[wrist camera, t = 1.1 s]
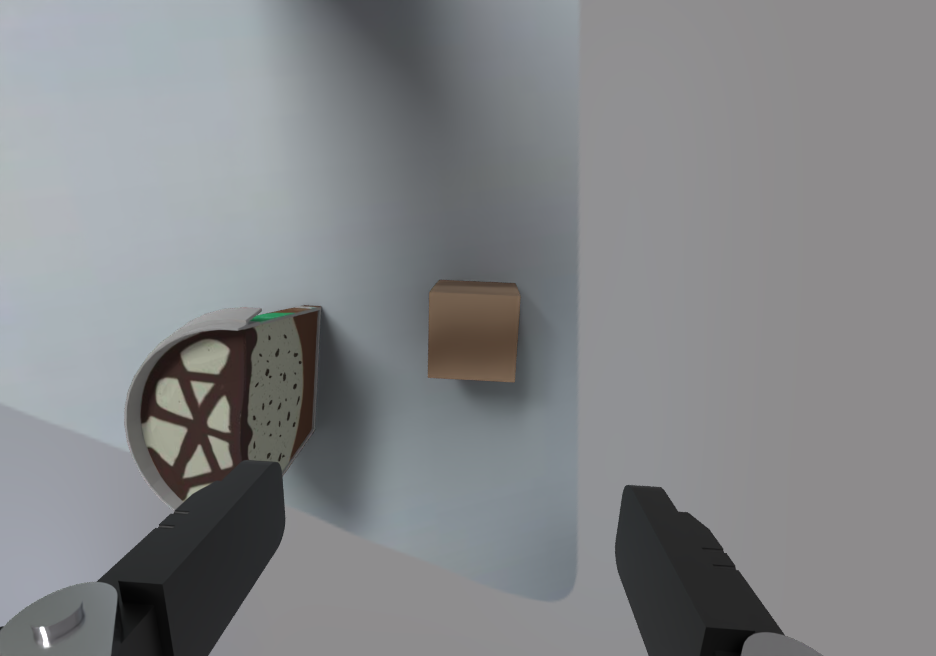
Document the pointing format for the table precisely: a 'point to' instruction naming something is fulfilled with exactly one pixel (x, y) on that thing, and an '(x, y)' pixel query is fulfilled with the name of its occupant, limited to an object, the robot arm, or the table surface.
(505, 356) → the walnut cube
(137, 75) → the table surface
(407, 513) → the table surface
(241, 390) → the food container
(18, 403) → the table surface
